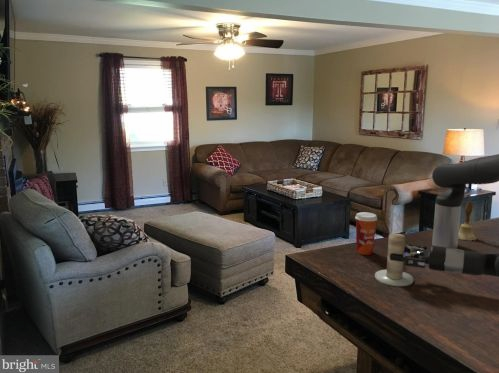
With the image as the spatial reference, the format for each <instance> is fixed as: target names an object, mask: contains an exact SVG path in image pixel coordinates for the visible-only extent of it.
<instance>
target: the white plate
mask: <svg viewBox="0 0 499 373" xmlns="http://www.w3.org/2000/svg"><path fill="white" fill-rule="evenodd" d="M386 273H387V269H381V270H377V271H376V272H375V273H374V278H375V280H377V281H378V282H379V283H381V284H383V285H387V286H391V287H408V286H411V285H412V284H413V283H414V277H413V276H412V275H411V274H409V273H407V272H405V271H403V275H402V279H400V280H393V279H389V278H388V277H387V276H386Z"/></svg>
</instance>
